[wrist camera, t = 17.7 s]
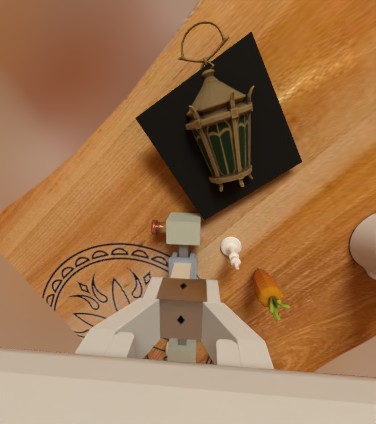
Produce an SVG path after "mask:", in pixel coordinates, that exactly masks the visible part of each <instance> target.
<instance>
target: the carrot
mask: <svg viewBox="0 0 376 424" xmlns="http://www.w3.org/2000/svg"><path fill="white" fill-rule="evenodd" d="M254 288H255V292H256V295H257V298H258V300H259V301H260V302H261V303H262V304H263V306H264V307H269V312H270V313H272V314H273V316H274V318H275V320H276V321H280V320H281V319H280V317H279V315H278V309H277V307H278V308H280V306H279V305H281V306H283V307H285V308H290V306H289V305H285V304H283V303H281V302H282V298H283V293H282V291H281V290H280V288H279V287H278V285H277V284H276V282H275V281H274V280H273V279H272V277H271V276H270V275H269V274H268V273H267V272H266V271H264V270H261V269H257V270H256V271H255V274H254ZM276 306H277V307H276Z"/></svg>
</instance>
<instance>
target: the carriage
mask: <svg viewBox="0 0 376 424" xmlns="http://www.w3.org/2000/svg"><path fill="white" fill-rule="evenodd" d="M196 272H197V258H195V253H191V255H190V258H183V257H178V252H173V255H172V257H169V277H170V278H184V279H196Z"/></svg>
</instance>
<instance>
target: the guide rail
mask: <svg viewBox="0 0 376 424" xmlns="http://www.w3.org/2000/svg"><path fill="white" fill-rule="evenodd" d="M200 223H201V215H200V213H177V212H171V213H170V215H169V217H168V219H167V220H166V244H179V257H183V258H188V254H189V245H200ZM166 356H168V361H175V362H187V363H196V340H189V339H177V338H170V339H169V342H167V346H166Z"/></svg>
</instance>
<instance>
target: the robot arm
mask: <svg viewBox="0 0 376 424" xmlns="http://www.w3.org/2000/svg"><path fill="white" fill-rule="evenodd" d="M350 252H351V255H352V257H353V258H354V260H355V261H356V262H357V263H358V264H359V265H361V266H362V267H363V268H365V270H366V272H367V274H368V276H369V277H371V278H372V279H375V280H376V213H375V214H373V215H371V216H369V217H368V218H366V219H365V220H363V221H362V222H361V223H360V224H359V225H358V226H357V228H356V229H355V231H354V232H353V234H352V237H351V240H350ZM160 338H177V339H189V340H198V341H201V342H202V344H203V346H204V347H205V349H206V351H207V352H208V354H209V356H210V357H211V359H212V361H213V363H214V364H215V365H213V364H200V363H187V362H175V361H162V360H149V359H143V358H144V357H145V356H146V354H147V353H148V352H149V351H150V350H151V349H152V348H153V347H154V345H155V344H156V343H157V342H158V341H159V340H160ZM0 424H376V378H375V377H363V376H351V375H337V374H325V373H313V372H300V371H288V370H275V369H274V367H273V364H272V361H271V358H270V356H269V353H268V350H267V347H266V344H265V341H264V340H263V339H262V338H261V337H260V336H258V335H257V334H256V333H255V332H254V331H253V330H252V329H251V328H250V327H249V326H248V325H247V324H246V323H245V322H243V321H242V320H241V319H240V318H239V317H238V316H237V315H236V314H235V313H234V312H233V311H232V310H231V309H230V308H228V307H227V306H226V305H225V304H224V303H221V302H220V294H219V286H218V280H204V279H184V278H170V277H155V276H153V277H152V278H151V280H150V282H149V284H148V287H147V289H146V292H145V294H144V296H143V298H139V299H137V300H135V301H134V302H132V303H131V304H129V305H127V306H126V307H124V308H123V309H121V310H120V311H118V312H116V313H115V314H113V315H112V316H110V317H108V318H107V319H105V320H104V321H102V322H100V323H99V324H97V325H96V326H94V327H92V328H91V329H90V330H89V332H88V333H87V335H86V336H85V338H84V339H83V341H82V343H81V344H80V346H79V347H78V349H77V350H76V352H75V353H61V352H49V351H37V350H25V349H12V348H0Z"/></svg>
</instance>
